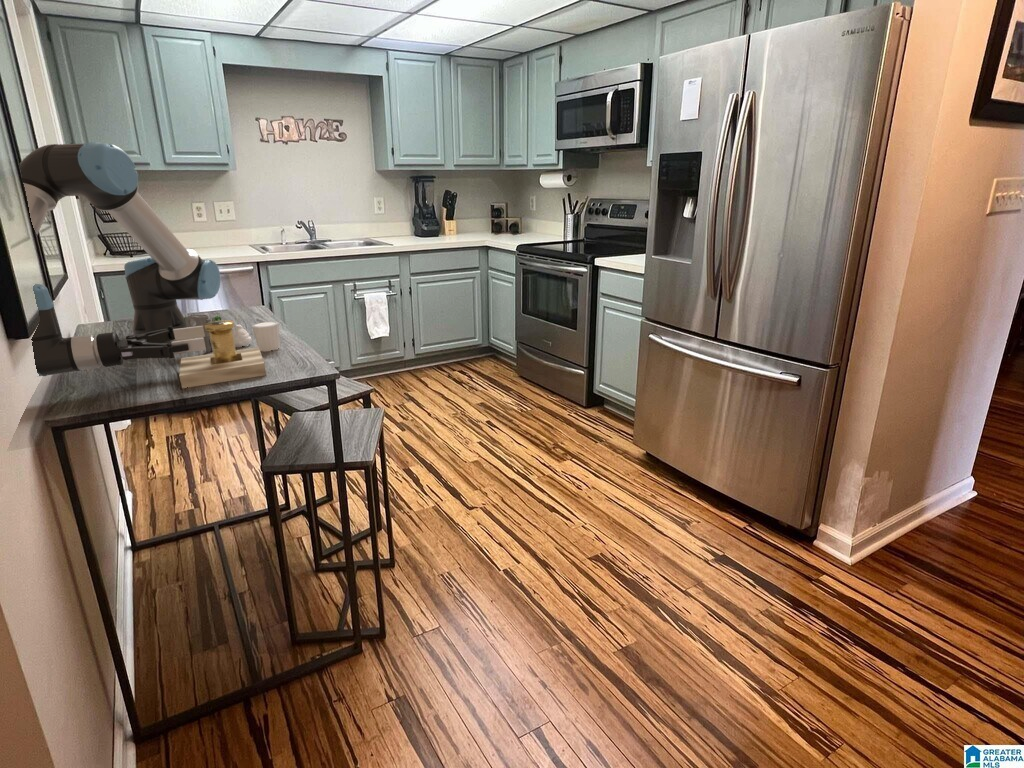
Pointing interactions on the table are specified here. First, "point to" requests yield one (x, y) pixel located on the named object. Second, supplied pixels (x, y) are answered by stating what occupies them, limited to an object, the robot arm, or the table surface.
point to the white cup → (267, 335)
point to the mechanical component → (201, 321)
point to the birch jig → (221, 368)
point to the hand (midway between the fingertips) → (204, 337)
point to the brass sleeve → (222, 340)
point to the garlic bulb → (241, 336)
